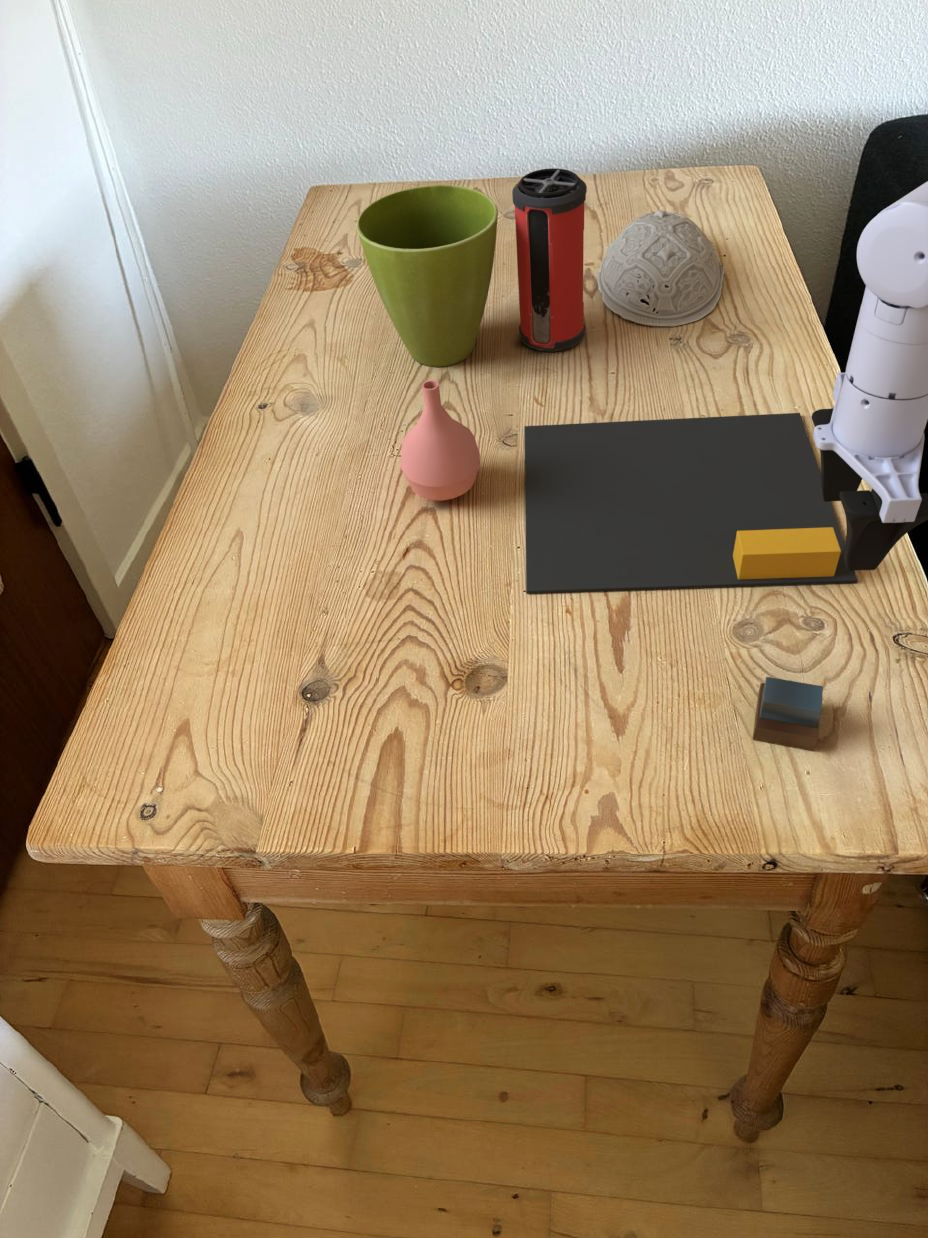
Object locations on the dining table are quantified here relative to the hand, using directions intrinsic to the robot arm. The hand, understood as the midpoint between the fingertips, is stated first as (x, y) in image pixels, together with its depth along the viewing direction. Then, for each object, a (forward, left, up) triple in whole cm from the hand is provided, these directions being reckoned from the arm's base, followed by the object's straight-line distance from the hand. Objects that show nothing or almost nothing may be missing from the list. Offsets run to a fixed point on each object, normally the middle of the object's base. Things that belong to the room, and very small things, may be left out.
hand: (848, 531), depth 71 cm
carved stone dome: (+22, -54, -10) cm, 60 cm away
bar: (+4, -5, -9) cm, 11 cm away
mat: (+14, -12, -9) cm, 21 cm away
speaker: (+32, -38, -10) cm, 51 cm away
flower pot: (+44, -33, -10) cm, 56 cm away
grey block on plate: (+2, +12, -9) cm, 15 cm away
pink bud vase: (+36, -9, -10) cm, 39 cm away
